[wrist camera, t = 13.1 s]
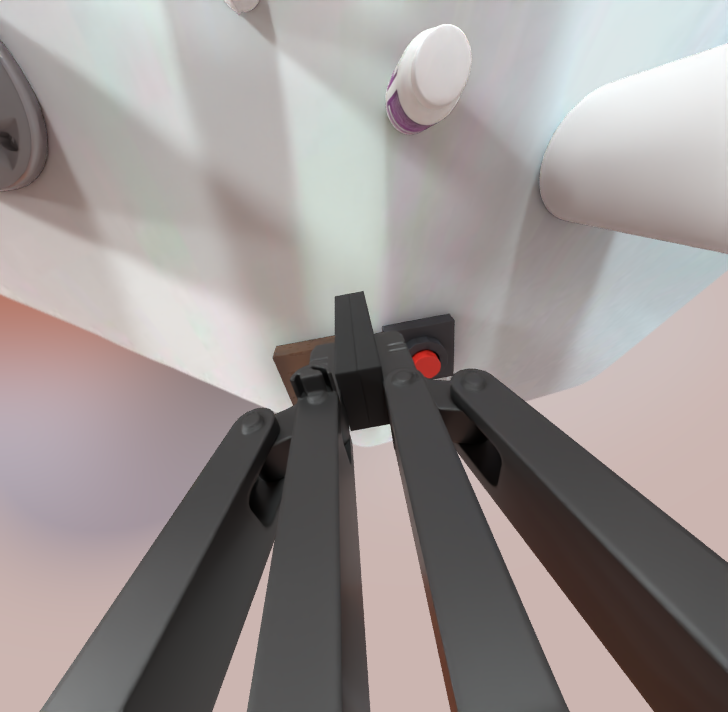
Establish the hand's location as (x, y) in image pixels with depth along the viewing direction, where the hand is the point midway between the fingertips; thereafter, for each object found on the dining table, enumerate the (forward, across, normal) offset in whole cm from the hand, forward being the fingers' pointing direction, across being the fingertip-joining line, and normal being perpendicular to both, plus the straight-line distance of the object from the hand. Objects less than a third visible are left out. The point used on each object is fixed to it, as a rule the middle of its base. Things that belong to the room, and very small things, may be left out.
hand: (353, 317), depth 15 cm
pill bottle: (+22, -9, -11) cm, 27 cm away
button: (+18, -8, +18) cm, 27 cm away
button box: (+22, -8, +18) cm, 30 cm away
